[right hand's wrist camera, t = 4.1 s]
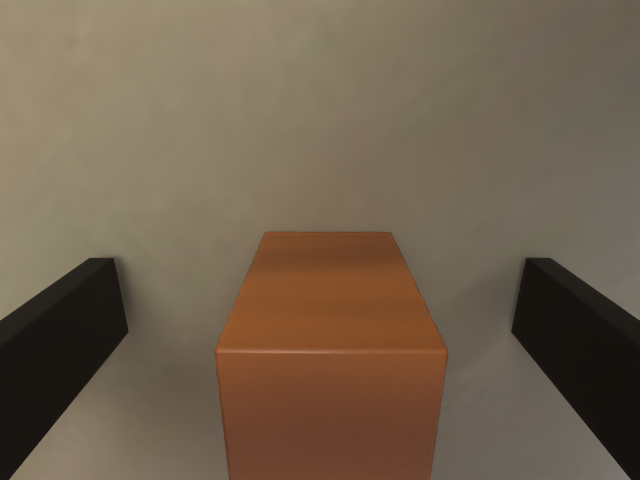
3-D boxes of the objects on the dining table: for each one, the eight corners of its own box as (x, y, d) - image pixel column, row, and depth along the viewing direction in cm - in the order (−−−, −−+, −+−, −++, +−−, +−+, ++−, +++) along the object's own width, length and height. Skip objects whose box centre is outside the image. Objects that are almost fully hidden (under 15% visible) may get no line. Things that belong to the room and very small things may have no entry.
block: (264, 230, 12) (212, 349, 6) (391, 231, 12) (450, 351, 6) (270, 338, 14) (231, 511, 8) (384, 339, 13) (427, 514, 8)
